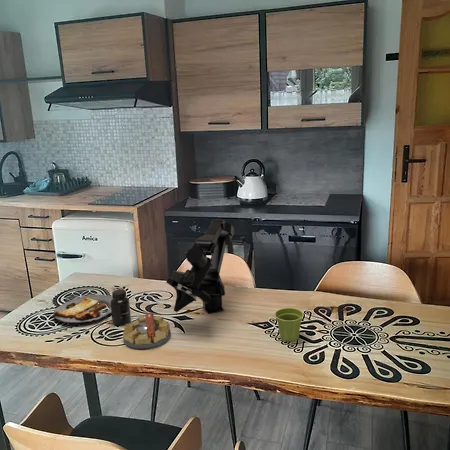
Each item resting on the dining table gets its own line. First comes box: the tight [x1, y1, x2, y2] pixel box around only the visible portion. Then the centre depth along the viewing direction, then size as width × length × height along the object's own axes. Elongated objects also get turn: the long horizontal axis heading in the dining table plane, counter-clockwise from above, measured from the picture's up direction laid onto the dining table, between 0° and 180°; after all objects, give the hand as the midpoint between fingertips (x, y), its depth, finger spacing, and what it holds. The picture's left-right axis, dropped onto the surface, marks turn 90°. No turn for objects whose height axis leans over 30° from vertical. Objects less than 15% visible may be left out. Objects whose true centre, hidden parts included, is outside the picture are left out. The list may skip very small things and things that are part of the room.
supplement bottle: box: [110, 289, 132, 327], centre depth 166 cm, size 7×7×12 cm
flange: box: [122, 322, 172, 351], centre depth 155 cm, size 16×16×5 cm
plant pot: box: [274, 307, 304, 343], centre depth 150 cm, size 9×9×9 cm
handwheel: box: [122, 312, 171, 345], centre depth 154 cm, size 15×15×10 cm
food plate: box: [52, 294, 113, 324], centre depth 177 cm, size 25×23×4 cm
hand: (175, 311), depth 155 cm, fingers closed
